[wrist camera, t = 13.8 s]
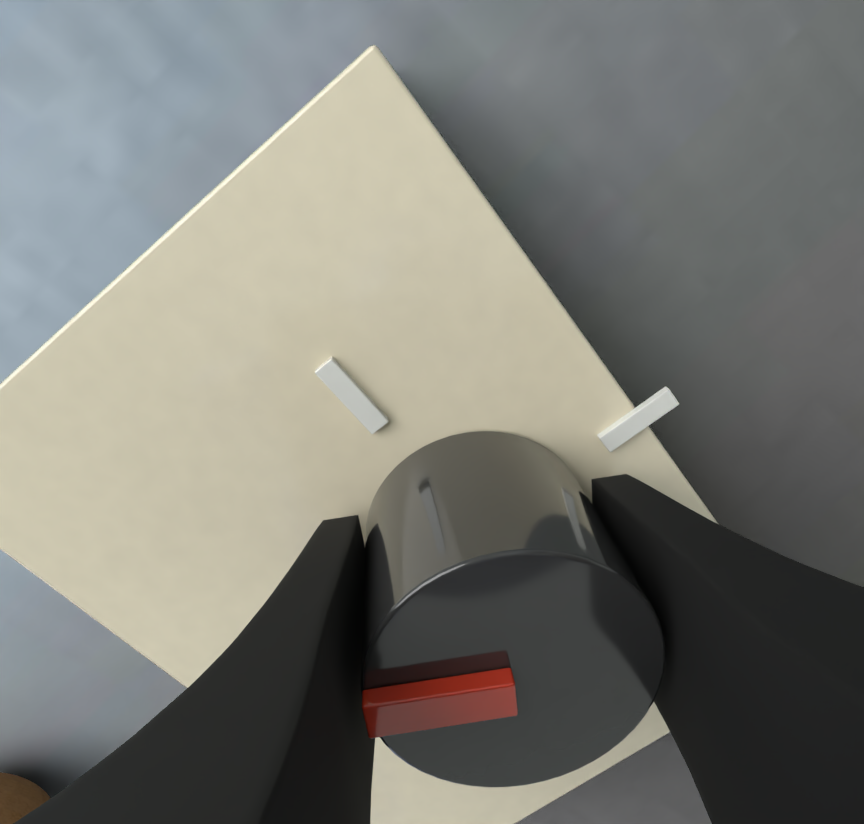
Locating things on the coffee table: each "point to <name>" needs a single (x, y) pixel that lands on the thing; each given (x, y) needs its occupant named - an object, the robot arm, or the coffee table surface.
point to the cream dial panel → (302, 396)
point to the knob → (500, 617)
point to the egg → (18, 797)
